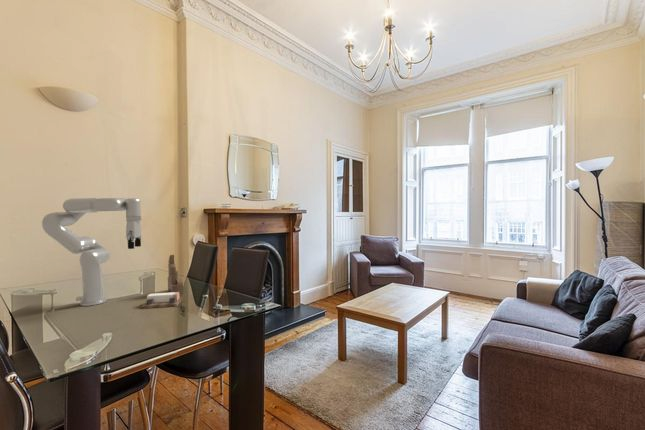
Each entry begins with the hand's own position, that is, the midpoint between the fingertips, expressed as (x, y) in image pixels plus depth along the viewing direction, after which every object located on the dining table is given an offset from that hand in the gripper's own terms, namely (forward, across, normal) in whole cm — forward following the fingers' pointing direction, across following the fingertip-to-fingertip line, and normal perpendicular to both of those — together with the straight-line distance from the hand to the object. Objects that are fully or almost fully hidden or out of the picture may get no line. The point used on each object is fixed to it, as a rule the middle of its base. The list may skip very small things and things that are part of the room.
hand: (134, 247), depth 182 cm
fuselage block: (+31, +9, +18) cm, 37 cm away
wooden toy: (+33, -15, +18) cm, 40 cm away
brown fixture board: (+32, +9, +18) cm, 38 cm away
